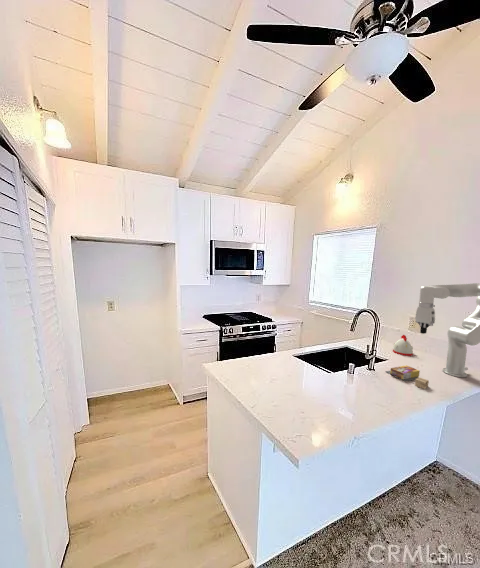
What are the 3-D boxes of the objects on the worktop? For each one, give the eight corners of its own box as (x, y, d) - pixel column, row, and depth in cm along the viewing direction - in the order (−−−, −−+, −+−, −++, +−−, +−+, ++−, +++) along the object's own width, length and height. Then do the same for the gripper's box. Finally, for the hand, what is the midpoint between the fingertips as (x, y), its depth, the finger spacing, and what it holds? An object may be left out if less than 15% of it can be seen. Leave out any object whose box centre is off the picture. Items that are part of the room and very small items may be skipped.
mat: (401, 369, 173) (401, 369, 173) (421, 379, 160) (421, 378, 160) (385, 371, 169) (385, 371, 169) (404, 381, 156) (404, 380, 156)
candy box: (405, 371, 171) (389, 373, 165) (406, 365, 171) (390, 367, 165) (419, 377, 163) (402, 379, 157) (420, 370, 162) (403, 373, 157)
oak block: (418, 383, 154) (419, 377, 154) (428, 387, 150) (428, 380, 150) (414, 385, 151) (415, 379, 151) (424, 389, 147) (425, 382, 147)
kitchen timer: (396, 354, 204) (398, 336, 203) (389, 349, 217) (391, 332, 216) (416, 356, 202) (417, 338, 200) (407, 350, 215) (409, 333, 214)
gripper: (442, 307, 160) (439, 336, 161) (418, 303, 174) (416, 330, 175) (433, 307, 157) (430, 336, 159) (410, 303, 172) (408, 330, 173)
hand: (423, 333), depth 167 cm, fingers closed
